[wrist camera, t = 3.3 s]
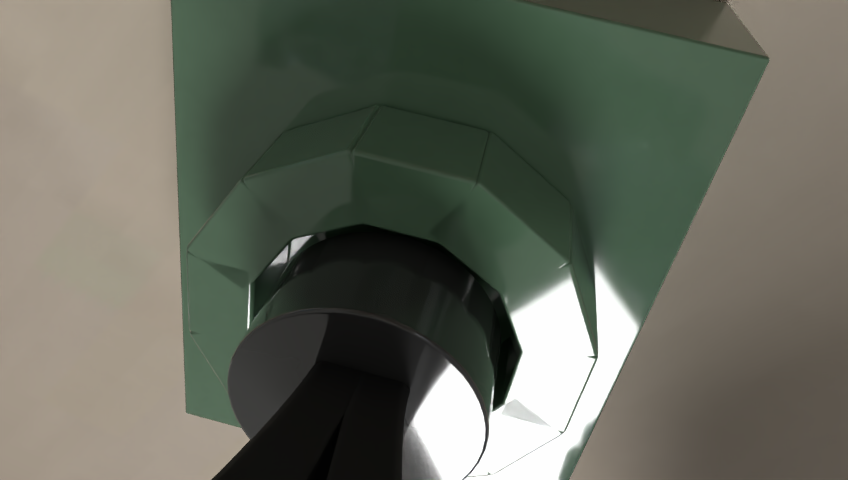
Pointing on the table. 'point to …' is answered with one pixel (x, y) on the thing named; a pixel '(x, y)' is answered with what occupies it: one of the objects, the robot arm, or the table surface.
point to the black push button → (380, 343)
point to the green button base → (457, 172)
